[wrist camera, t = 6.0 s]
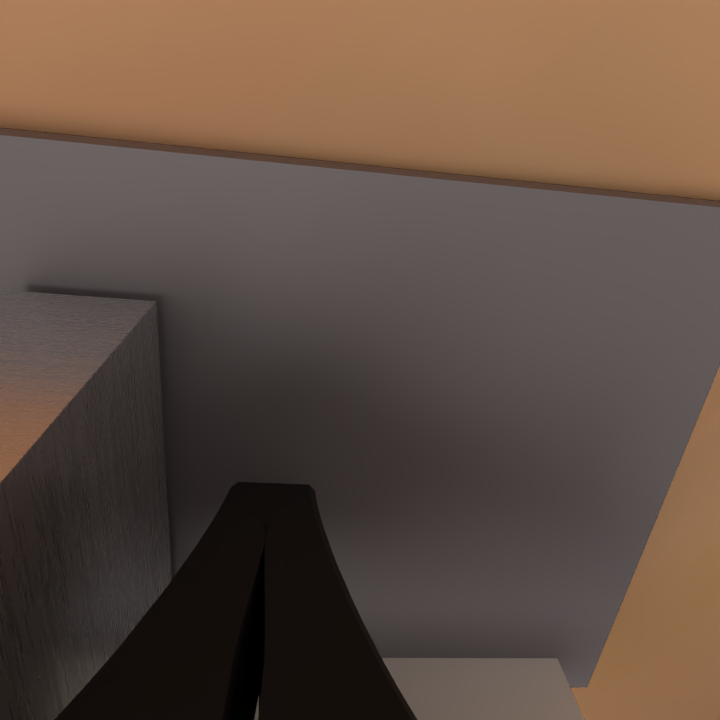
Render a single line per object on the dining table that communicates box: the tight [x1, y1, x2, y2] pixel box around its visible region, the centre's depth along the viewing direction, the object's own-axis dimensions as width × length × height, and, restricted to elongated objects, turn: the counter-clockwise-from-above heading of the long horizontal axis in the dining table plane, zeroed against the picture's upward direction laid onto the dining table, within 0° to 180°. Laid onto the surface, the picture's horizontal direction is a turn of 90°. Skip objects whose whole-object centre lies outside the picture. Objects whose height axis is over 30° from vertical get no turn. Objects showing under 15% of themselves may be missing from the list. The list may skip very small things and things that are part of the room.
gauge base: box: [0, 128, 720, 720], centre depth 7 cm, size 20×11×7 cm, turn 84°
